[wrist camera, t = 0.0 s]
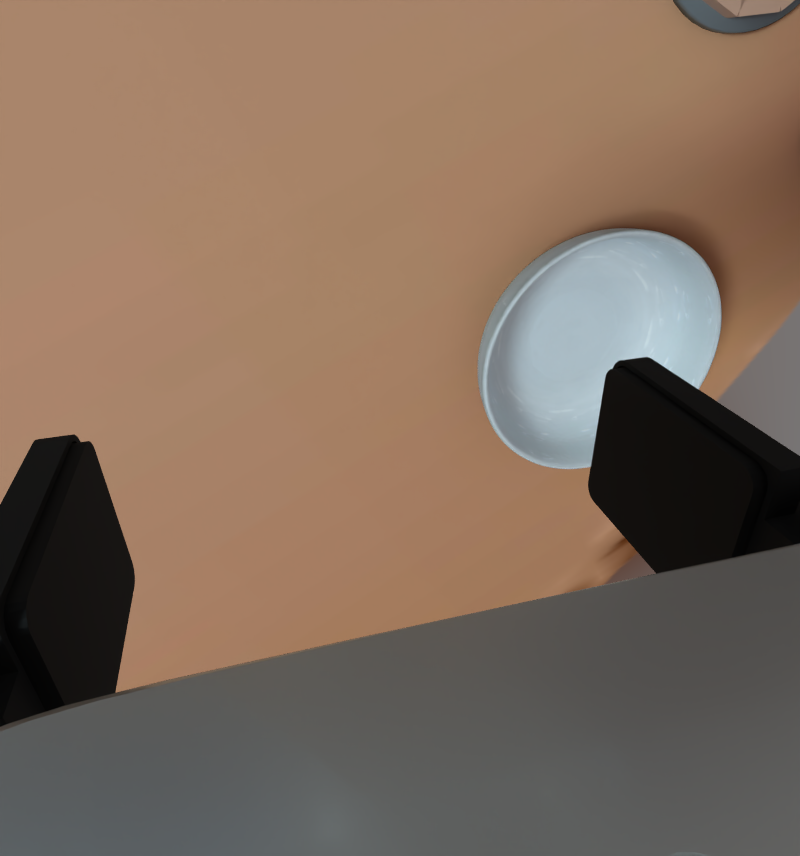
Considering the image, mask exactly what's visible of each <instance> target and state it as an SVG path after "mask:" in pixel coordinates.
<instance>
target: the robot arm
mask: <svg viewBox="0 0 800 856" xmlns="http://www.w3.org/2000/svg"><path fill="white" fill-rule="evenodd" d="M588 488H589V493H590V496H591V498H592V500H593V501H594V502H595V503H596V505H597V506H598V507H599V508H600V509H601V510H602V512H603V513H604V514H605V515H606V516H607V517H608V518H609V520H610V521H611V522H612V523H613V524H614V525H615V527H616V528H617V529H618V530H619V531H620V532H621V533H622V535H623V536H624V537H625V538H626V539H627V540H628V541H629V543H630V544H631V545H632V546H633V547H634V548H635V550H636V551H637V552H638V553H639V554H640V555H641V556H642V558H643V559H644V560H645V561H646V562H647V563H648V564H649V566H650V567H651V568H652V569H653V570H654V571H655V572H656V574H653V575H648V576H643V577H638V578H634V579H629V580H624V581H620V582H615V583H610V584H606V585H601V586H597V587H592V588H587V589H583V590H578V591H573V592H569V593H564V594H560V595H555V596H550V597H546V598H541V599H536V600H532V601H527V602H522V603H518V604H513V605H509V606H504V607H499V608H495V609H490V610H485V611H481V612H476V613H471V614H467V615H462V616H457V617H453V618H448V619H443V620H439V621H434V622H429V623H425V624H420V625H415V626H411V627H406V628H401V629H397V630H392V631H388V632H383V633H378V634H374V635H369V636H364V637H360V638H355V639H350V640H346V641H341V642H337V643H332V644H328V645H323V646H319V647H314V648H310V649H305V650H301V651H296V652H292V653H287V654H283V655H278V656H273V657H269V658H264V659H260V660H255V661H251V662H246V663H242V664H237V665H233V666H228V667H224V668H219V669H215V670H210V671H206V672H201V673H196V674H192V675H187V676H183V677H178V678H174V679H169V680H165V681H161V682H157V683H153V684H149V685H145V686H141V687H137V688H133V689H129V690H125V691H121V692H117V693H115V691H116V685H117V680H118V674H119V669H120V663H121V657H122V652H123V646H124V641H125V635H126V630H127V624H128V618H129V613H130V607H131V602H132V596H133V591H134V584H135V575H134V568H133V563H132V560H131V557H130V554H129V551H128V548H127V545H126V542H125V539H124V536H123V533H122V530H121V527H120V524H119V521H118V518H117V515H116V512H115V509H114V506H113V503H112V500H111V497H110V494H109V491H108V488H107V485H106V482H105V479H104V476H103V473H102V470H101V467H100V464H99V461H98V458H97V455H96V452H95V449H94V447H93V445H92V443H91V442H90V441H87V442H80V440H79V439H78V437H77V436H76V435H67V436H59V437H52V438H45V439H37V440H35V441H34V442H33V444H32V446H31V448H30V449H29V451H28V453H27V455H26V457H25V459H24V461H23V463H22V465H21V466H20V468H19V470H18V472H17V474H16V476H15V478H14V480H13V482H12V484H11V485H10V487H9V489H8V491H7V493H6V495H5V497H4V499H3V501H2V503H1V504H0V856H800V456H799V455H797V454H796V453H794V452H793V451H791V450H789V449H788V448H786V447H785V446H783V445H782V444H780V443H778V442H777V441H776V440H774V439H772V438H771V437H770V436H768V435H767V434H765V433H764V432H762V431H761V430H759V429H758V428H756V427H755V426H753V425H752V424H750V423H748V422H747V421H746V420H744V419H742V418H741V417H739V416H738V415H736V414H735V413H733V412H732V411H730V410H729V409H727V408H726V407H724V406H722V405H721V404H719V403H718V402H717V401H715V400H714V399H712V398H711V397H709V396H708V395H706V394H705V393H703V392H701V391H700V390H698V389H697V388H695V387H694V386H692V385H691V384H689V383H688V382H686V381H685V380H683V379H682V378H680V377H679V376H677V375H676V374H674V373H673V372H671V371H670V370H668V369H667V368H665V367H664V366H662V365H661V364H659V363H657V362H656V361H654V360H653V359H651V358H649V357H642V358H635V359H627V360H620V361H618V362H616V363H615V365H614V366H613V369H610V370H609V371H608V372H607V374H606V377H605V382H604V388H603V394H602V401H601V407H600V413H599V419H598V425H597V431H596V438H595V444H594V450H593V456H592V462H591V469H590V475H589V481H588Z"/></svg>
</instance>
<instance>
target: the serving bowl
mask: <svg viewBox="0 0 800 856" xmlns="http://www.w3.org/2000/svg"><path fill="white" fill-rule="evenodd" d="M721 318H722V315H721V299H720V294H719V290H718V286H717V283H716V280H715V278H714V276H713V274H712V272H711V270H710V268H709V266H708V265H707V263H706V262H705V261H704V259H703V258H702V257H701V256H700V255H699V254H698V253H697V252H696V251H695V250H694V249H693V248H691V247H690V246H689V245H687V244H686V243H684V242H683V241H681V240H679V239H677V238H675V237H672V236H670V235H668V234H664V233H661V232H657V231H651V230H644V229H633V228H615V229H605V230H599V231H594V232H590V233H586V234H583V235H580V236H576V237H574V238H571V239H569V240H567V241H564V242H562V243H560V244H558V245H557V246H555V247H553V248H551V249H550V250H548V251H546V252H545V253H543V254H542V255H540V256H539V257H538V258H536V259H535V260H534V261H533V262H531V263H530V264H529V265H528V266H527V267H526V268H525V269H523V270H522V271H521V272H520V273H519V274H518V275H517V277H516V278H515V279H514V280H513V281H512V282H511V283H510V285H509V286H508V287H507V288H506V290H505V291H504V293H503V294H502V295H501V297H500V299H499V300H498V302H497V303H496V305H495V307H494V309H493V311H492V313H491V315H490V317H489V319H488V321H487V324H486V326H485V329H484V333H483V336H482V340H481V344H480V348H479V355H478V383H479V390H480V395H481V399H482V402H483V406H484V408H485V411H486V414H487V416H488V419H489V421H490V423H491V425H492V427H493V429H494V430H495V432H496V433H497V435H498V436H499V437H500V439H501V440H502V441H503V442H504V443H505V444H506V445H507V446H508V447H509V448H510V449H511V450H513V451H514V452H515V453H517V454H518V455H520V456H521V457H523V458H525V459H527V460H529V461H531V462H533V463H536V464H539V465H542V466H546V467H551V468H559V469H579V468H586V467H591V462H592V456H593V450H594V444H595V438H596V431H597V425H598V419H599V413H600V407H601V401H602V394H603V388H604V382H605V377H606V374H607V372H608V371H609V370H610V369H613V366H614V365H615V363H616V362H618V361H620V360H627V359H635V358H642V357H649V358H651V359H653V360H654V361H656V362H657V363H659V364H661V365H662V366H664V367H665V368H667V369H668V370H670V371H671V372H673V373H674V374H676V375H677V376H679V377H680V378H682V379H683V380H685V381H686V382H688V383H689V384H691V385H692V386H694V387H695V388H697V389H698V390H699V388H700V386H701V384H702V383H703V381H704V379H705V377H706V375H707V373H708V371H709V369H710V366H711V364H712V361H713V358H714V356H715V352H716V349H717V345H718V341H719V336H720V330H721Z"/></svg>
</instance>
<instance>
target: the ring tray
mask: <svg viewBox="0 0 800 856" xmlns="http://www.w3.org/2000/svg"><path fill="white" fill-rule="evenodd" d="M673 1H674V3H675V5H676V6H677V7H678V8H679V10H680V11H681V12H682V13H683V14H684V15H685V16H686V17H687V18H688V19H689V20H690V21H691V22H693V23H694V24H696V25H698V26H699V27H701V28H703V29H706V30H709V31H712V32H718V33H740V32H747V31H752V30H757V29H759V28H762V27H765V26H767V25H769V24H771V23H773V22H775V21H777V20H779V19H780V18H782V17H783V16H785V15H786V14H787V13H789V12H790V11H792V10H793V9H794V8H795V7H796V6H797V5H798V4H799V3H800V0H673Z"/></svg>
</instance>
